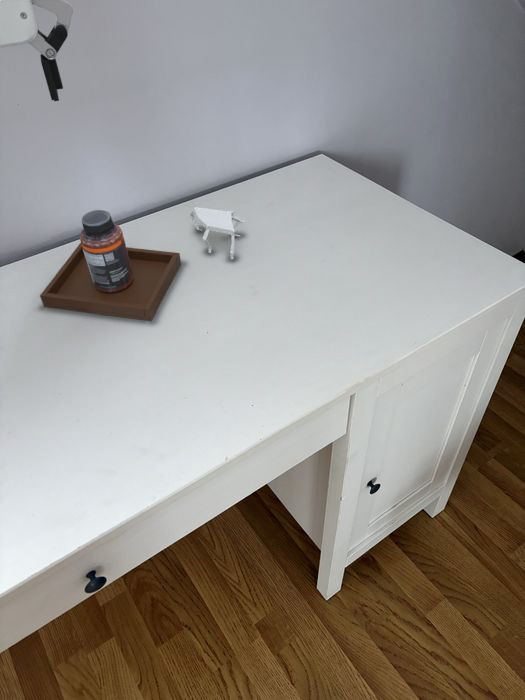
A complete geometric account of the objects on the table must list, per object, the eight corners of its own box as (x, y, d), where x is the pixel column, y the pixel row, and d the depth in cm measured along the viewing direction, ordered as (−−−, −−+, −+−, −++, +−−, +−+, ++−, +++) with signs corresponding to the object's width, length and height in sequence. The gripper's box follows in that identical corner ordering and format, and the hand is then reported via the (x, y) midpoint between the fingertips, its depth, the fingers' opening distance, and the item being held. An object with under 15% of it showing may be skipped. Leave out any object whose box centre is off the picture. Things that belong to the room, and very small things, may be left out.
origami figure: (260, 238, 93) (259, 212, 90) (231, 265, 88) (229, 238, 85) (202, 219, 98) (199, 193, 95) (171, 243, 93) (167, 217, 90)
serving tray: (44, 307, 82) (39, 295, 81) (84, 253, 92) (80, 242, 90) (151, 321, 80) (148, 309, 78) (181, 264, 89) (179, 252, 87)
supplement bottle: (114, 265, 88) (97, 201, 80) (142, 278, 86) (127, 212, 78) (85, 286, 85) (65, 220, 77) (114, 299, 82) (95, 233, 74)
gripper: (-187, -91, 43) (-85, 130, 55) (46, -107, 46) (95, 104, 58) (-166, -103, 48) (-77, 102, 60) (43, -116, 52) (88, 80, 64)
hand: (8, 103), depth 59 cm, fingers open, 9 cm apart
